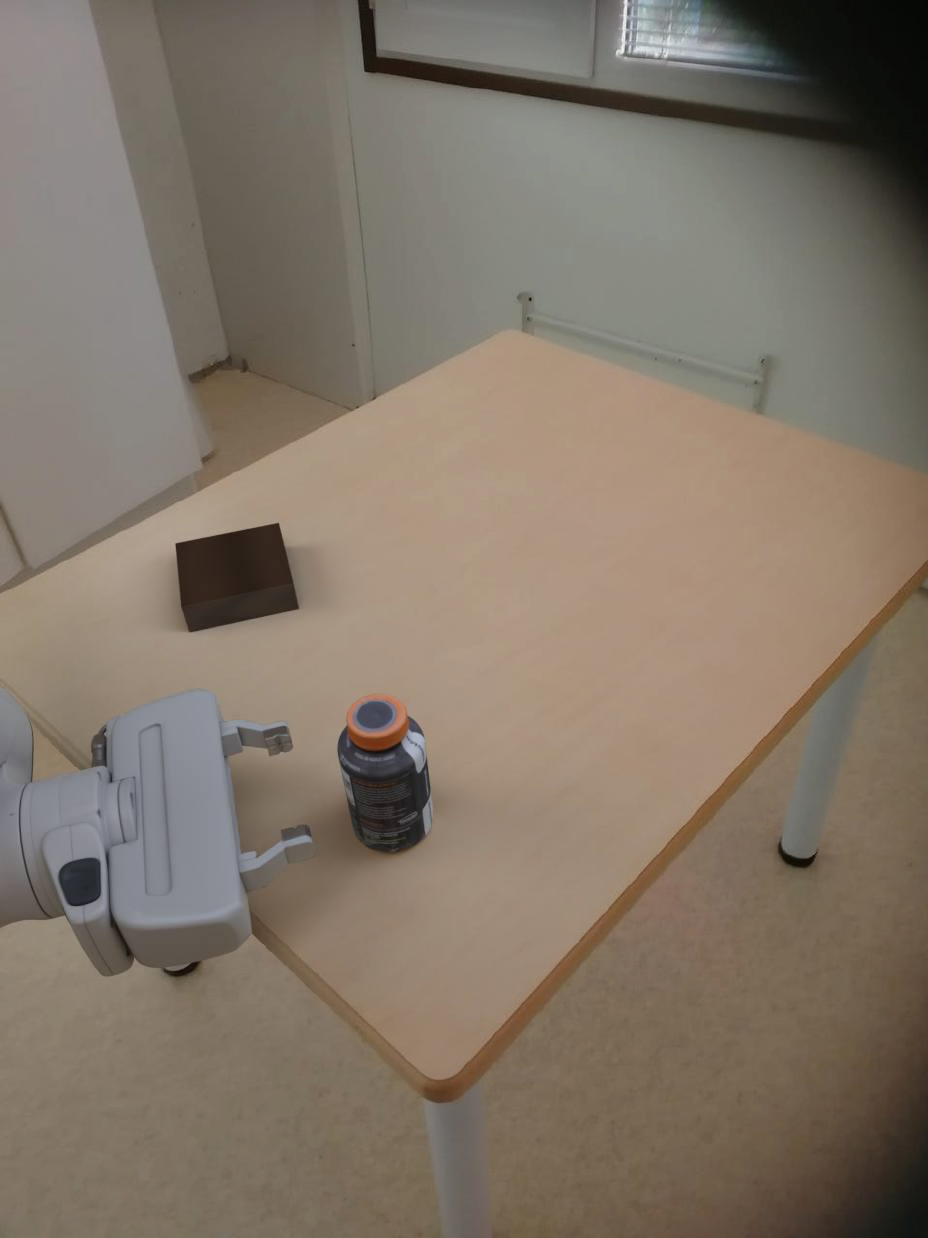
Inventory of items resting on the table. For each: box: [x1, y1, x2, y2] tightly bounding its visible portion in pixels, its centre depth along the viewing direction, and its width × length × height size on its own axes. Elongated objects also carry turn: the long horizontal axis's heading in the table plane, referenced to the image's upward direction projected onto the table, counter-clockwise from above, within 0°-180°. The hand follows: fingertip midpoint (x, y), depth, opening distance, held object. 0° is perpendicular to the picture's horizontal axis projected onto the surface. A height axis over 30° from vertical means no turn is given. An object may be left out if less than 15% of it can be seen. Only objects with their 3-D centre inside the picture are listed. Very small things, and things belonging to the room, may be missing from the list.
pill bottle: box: [336, 693, 434, 853], centre depth 66 cm, size 6×6×11 cm
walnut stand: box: [174, 522, 300, 633], centre depth 90 cm, size 10×10×3 cm
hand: (301, 784), depth 65 cm, fingers open, 8 cm apart
